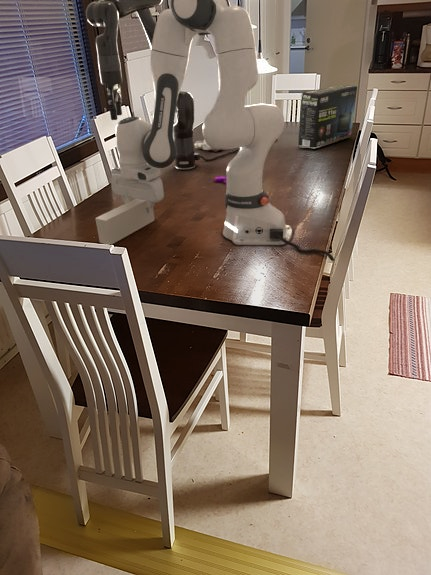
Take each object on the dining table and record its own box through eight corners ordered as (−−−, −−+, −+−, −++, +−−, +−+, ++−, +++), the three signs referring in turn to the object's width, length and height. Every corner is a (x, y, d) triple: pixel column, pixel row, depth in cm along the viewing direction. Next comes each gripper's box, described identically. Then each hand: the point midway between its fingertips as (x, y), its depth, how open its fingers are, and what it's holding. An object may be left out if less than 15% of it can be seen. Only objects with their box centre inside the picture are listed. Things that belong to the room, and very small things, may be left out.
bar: (144, 218, 164) (142, 195, 159) (154, 220, 162) (152, 197, 157) (99, 242, 147) (95, 218, 143) (110, 245, 145) (105, 220, 141)
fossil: (218, 146, 231) (198, 127, 234) (207, 163, 238) (188, 145, 241) (236, 144, 245) (217, 126, 248) (226, 160, 252) (207, 143, 255)
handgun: (214, 180, 197) (213, 176, 196) (231, 178, 198) (231, 174, 197) (224, 196, 180) (223, 191, 179) (243, 193, 181) (242, 189, 180)
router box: (314, 151, 231) (318, 94, 217) (296, 148, 237) (299, 92, 224) (352, 138, 251) (358, 85, 238) (335, 135, 258) (340, 83, 245)
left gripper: (104, 67, 167) (110, 114, 175) (94, 71, 154) (102, 121, 163) (124, 66, 166) (130, 113, 175) (116, 70, 154) (123, 121, 162)
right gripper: (104, 168, 152) (110, 208, 159) (152, 176, 142) (156, 218, 149) (117, 163, 156) (122, 202, 164) (164, 171, 147) (168, 211, 154)
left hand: (116, 117), depth 169 cm, fingers open, 8 cm apart
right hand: (139, 210), depth 156 cm, fingers open, 8 cm apart
